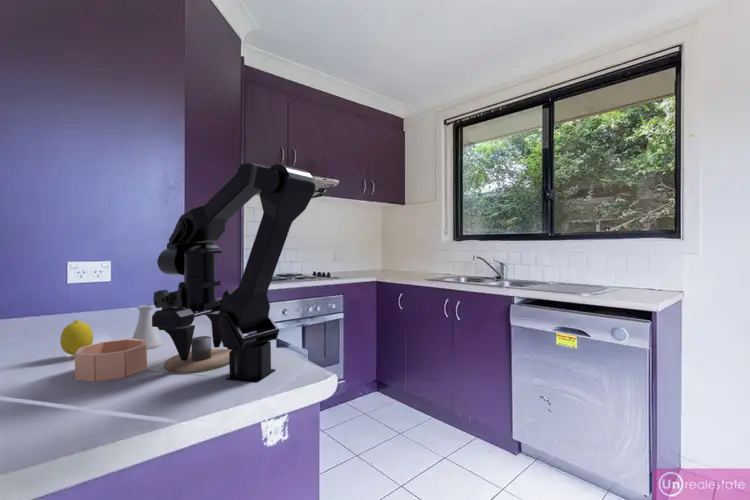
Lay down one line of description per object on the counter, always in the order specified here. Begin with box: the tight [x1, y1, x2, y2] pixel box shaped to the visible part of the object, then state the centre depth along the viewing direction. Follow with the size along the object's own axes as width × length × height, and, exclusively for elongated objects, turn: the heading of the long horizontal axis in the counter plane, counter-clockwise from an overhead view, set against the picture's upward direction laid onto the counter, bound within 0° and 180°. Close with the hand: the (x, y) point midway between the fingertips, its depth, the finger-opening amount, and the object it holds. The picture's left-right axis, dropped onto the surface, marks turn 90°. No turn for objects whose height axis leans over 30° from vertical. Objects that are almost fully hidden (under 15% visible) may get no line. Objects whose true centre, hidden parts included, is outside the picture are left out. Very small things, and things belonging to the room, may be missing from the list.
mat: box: [148, 363, 229, 377], centre depth 74 cm, size 13×13×1 cm
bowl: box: [74, 338, 148, 382], centre depth 70 cm, size 11×11×5 cm
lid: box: [163, 335, 231, 374], centre depth 74 cm, size 13×13×5 cm
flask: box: [131, 304, 165, 351], centre depth 86 cm, size 7×7×10 cm
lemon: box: [59, 320, 94, 357], centre depth 80 cm, size 6×6×8 cm
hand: (201, 353), depth 74 cm, fingers open, 9 cm apart
